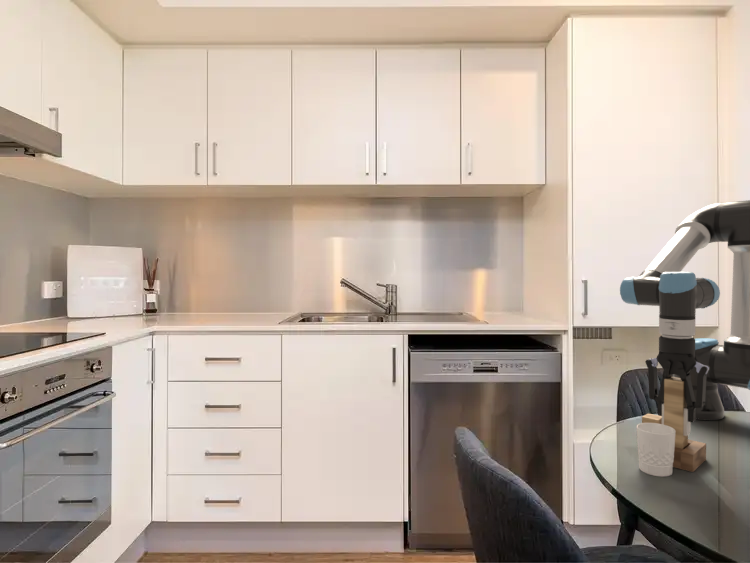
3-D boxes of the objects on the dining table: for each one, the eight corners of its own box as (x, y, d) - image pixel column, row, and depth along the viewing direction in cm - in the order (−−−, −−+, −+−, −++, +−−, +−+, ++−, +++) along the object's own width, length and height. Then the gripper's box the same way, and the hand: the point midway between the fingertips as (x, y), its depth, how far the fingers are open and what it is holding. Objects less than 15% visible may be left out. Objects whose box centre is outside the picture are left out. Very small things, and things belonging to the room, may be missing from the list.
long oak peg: (669, 440, 125) (670, 376, 124) (687, 444, 122) (688, 379, 121) (663, 444, 122) (664, 379, 122) (682, 448, 119) (682, 382, 119)
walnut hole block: (661, 448, 130) (661, 433, 129) (706, 459, 122) (706, 443, 122) (646, 459, 123) (646, 443, 123) (692, 472, 115) (693, 455, 115)
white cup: (670, 465, 119) (670, 423, 119) (679, 479, 112) (680, 435, 111) (633, 462, 122) (633, 421, 121) (640, 476, 114) (640, 432, 114)
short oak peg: (647, 438, 137) (647, 413, 136) (663, 442, 134) (663, 416, 133) (641, 442, 134) (641, 416, 134) (658, 446, 131) (658, 420, 131)
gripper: (633, 334, 125) (632, 427, 126) (713, 341, 112) (712, 445, 113) (644, 330, 130) (644, 420, 131) (723, 337, 117) (721, 436, 118)
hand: (675, 431), depth 122 cm, fingers closed on long oak peg, 4 cm apart
